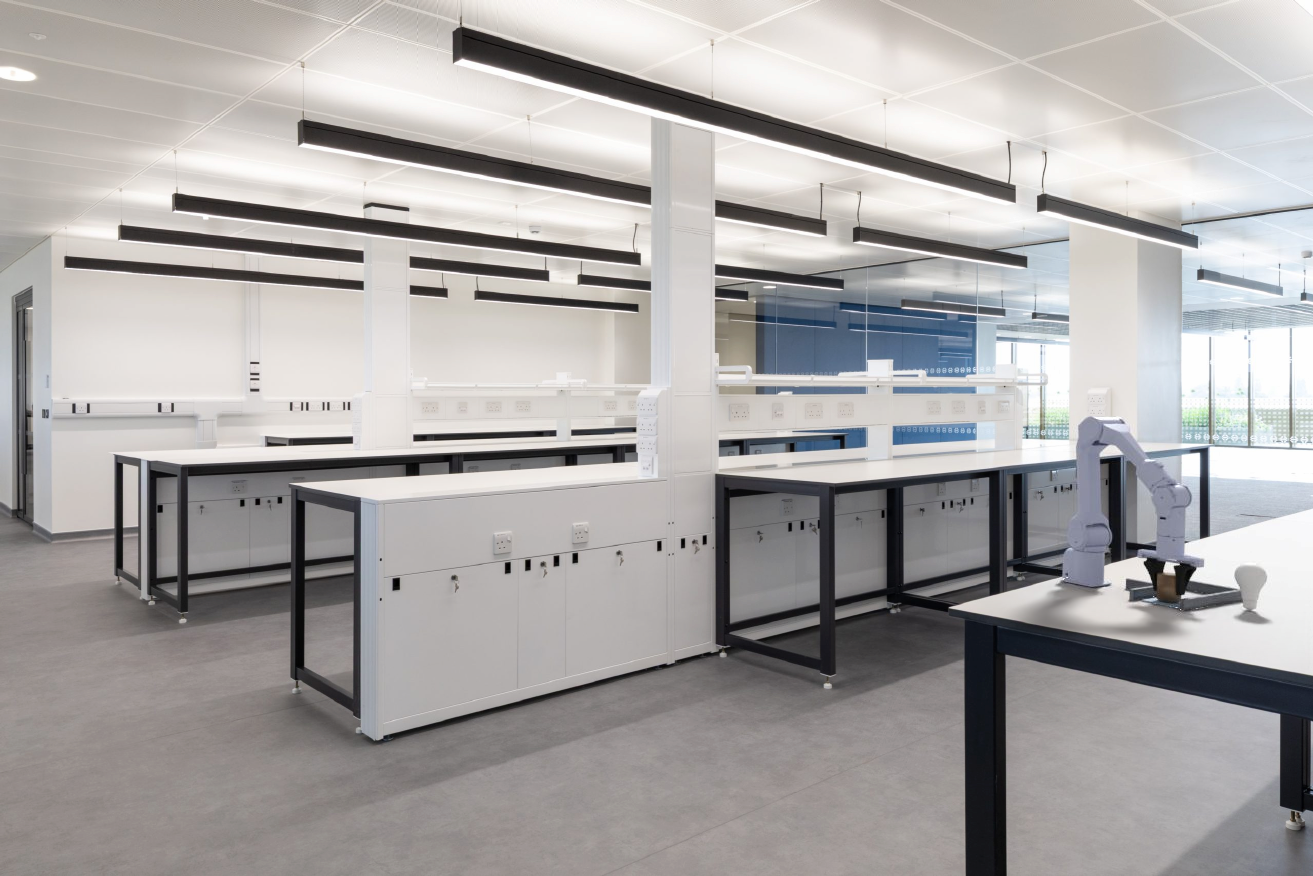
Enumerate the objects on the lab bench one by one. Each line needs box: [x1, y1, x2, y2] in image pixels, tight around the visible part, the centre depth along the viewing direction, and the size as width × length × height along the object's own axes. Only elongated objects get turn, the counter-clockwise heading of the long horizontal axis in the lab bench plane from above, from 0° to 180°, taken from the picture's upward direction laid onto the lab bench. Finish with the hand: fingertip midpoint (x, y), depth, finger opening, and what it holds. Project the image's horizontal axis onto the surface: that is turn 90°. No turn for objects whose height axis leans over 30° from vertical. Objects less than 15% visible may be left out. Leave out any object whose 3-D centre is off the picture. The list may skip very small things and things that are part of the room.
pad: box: [1141, 597, 1180, 608], centre depth 201 cm, size 8×8×1 cm
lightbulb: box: [1234, 562, 1268, 612], centre depth 194 cm, size 6×6×11 cm
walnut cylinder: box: [1156, 571, 1182, 602], centre depth 201 cm, size 5×5×6 cm
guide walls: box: [1125, 577, 1243, 611], centre depth 208 cm, size 22×24×2 cm
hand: (1169, 592), depth 201 cm, fingers closed on walnut cylinder, 5 cm apart
